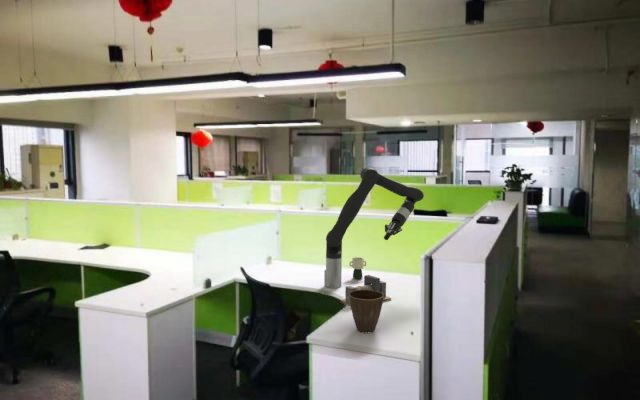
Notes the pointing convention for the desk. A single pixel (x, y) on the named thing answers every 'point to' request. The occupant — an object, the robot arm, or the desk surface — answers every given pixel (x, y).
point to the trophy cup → (357, 267)
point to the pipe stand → (366, 287)
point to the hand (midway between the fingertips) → (385, 239)
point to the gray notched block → (372, 282)
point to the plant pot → (366, 309)
